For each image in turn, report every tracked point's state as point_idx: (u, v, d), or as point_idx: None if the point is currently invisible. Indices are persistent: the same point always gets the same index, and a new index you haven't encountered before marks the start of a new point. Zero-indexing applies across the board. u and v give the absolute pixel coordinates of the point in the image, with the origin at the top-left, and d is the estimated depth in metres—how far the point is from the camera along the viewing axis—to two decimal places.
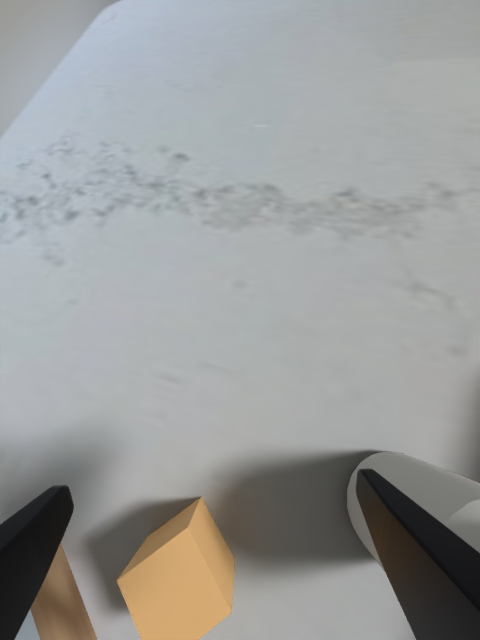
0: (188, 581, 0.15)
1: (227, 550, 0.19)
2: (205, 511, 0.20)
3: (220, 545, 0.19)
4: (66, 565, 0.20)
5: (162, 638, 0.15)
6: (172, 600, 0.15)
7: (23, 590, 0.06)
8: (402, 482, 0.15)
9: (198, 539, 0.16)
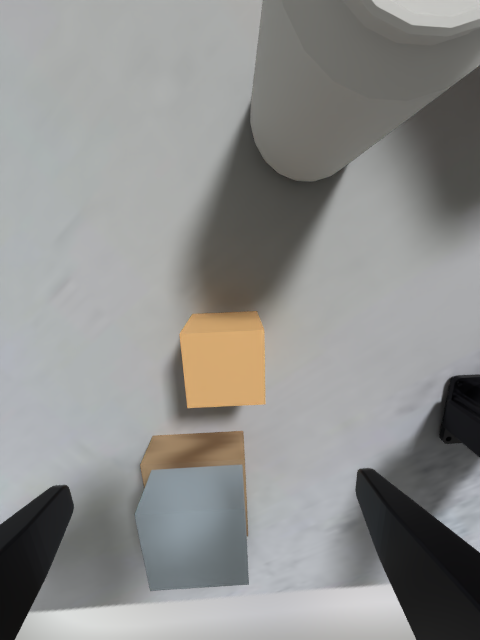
0: (221, 353, 0.15)
1: (244, 313, 0.19)
2: (202, 315, 0.19)
3: (233, 316, 0.19)
4: (182, 436, 0.22)
5: (246, 390, 0.16)
6: (227, 372, 0.16)
7: (23, 590, 0.06)
8: (258, 51, 0.11)
9: (199, 330, 0.16)
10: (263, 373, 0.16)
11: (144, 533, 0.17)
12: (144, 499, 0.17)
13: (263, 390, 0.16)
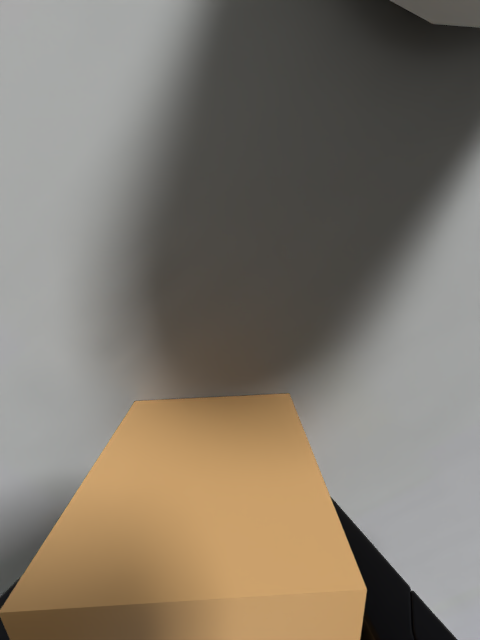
0: None
1: (260, 405, 0.08)
2: (154, 416, 0.07)
3: (232, 425, 0.07)
4: None
5: None
6: None
7: None
8: None
9: (101, 559, 0.04)
10: None
11: None
12: None
13: None
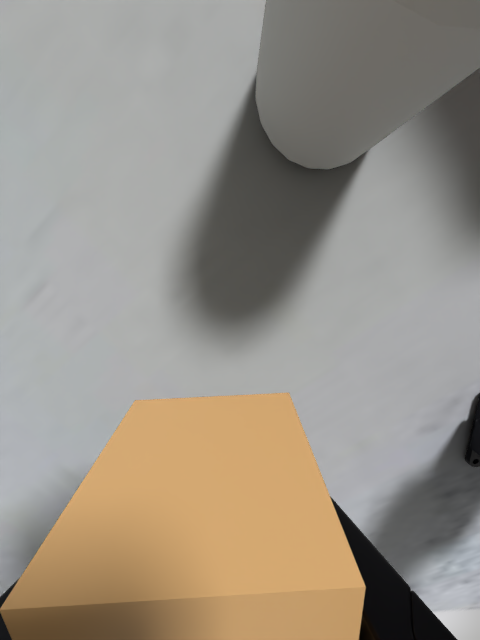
0: None
1: (260, 405, 0.08)
2: (154, 415, 0.07)
3: (232, 424, 0.07)
4: None
5: None
6: None
7: None
8: None
9: (101, 557, 0.04)
10: None
11: None
12: None
13: None
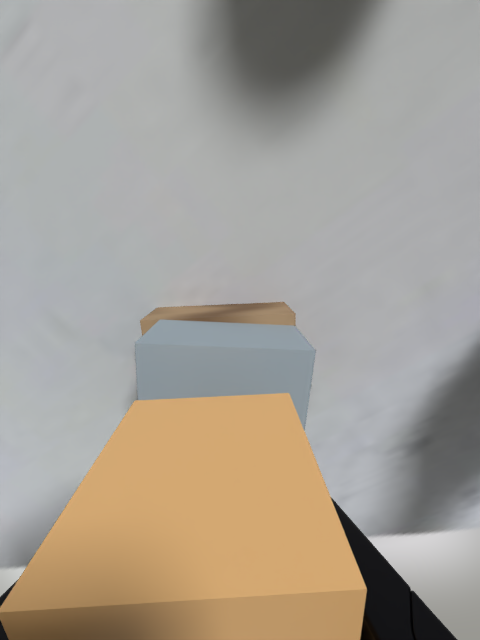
0: None
1: (260, 405, 0.08)
2: (154, 415, 0.07)
3: (232, 425, 0.07)
4: (199, 306, 0.16)
5: None
6: None
7: None
8: None
9: (99, 559, 0.04)
10: None
11: (147, 381, 0.10)
12: (150, 334, 0.11)
13: None
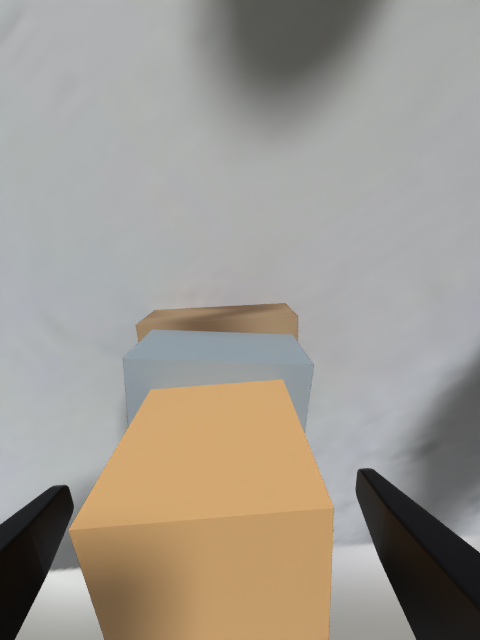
0: (204, 571, 0.05)
1: (258, 390, 0.09)
2: (168, 400, 0.09)
3: (234, 405, 0.08)
4: (198, 308, 0.15)
5: None
6: (223, 610, 0.06)
7: (23, 590, 0.06)
8: None
9: (137, 497, 0.05)
10: (325, 606, 0.06)
11: (136, 397, 0.10)
12: (140, 347, 0.10)
13: None
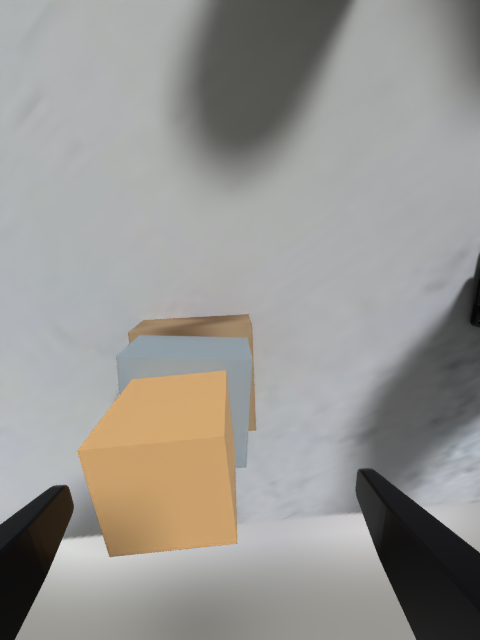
0: (155, 476, 0.09)
1: (206, 377, 0.13)
2: (143, 385, 0.13)
3: (187, 387, 0.12)
4: (178, 319, 0.19)
5: (204, 527, 0.10)
6: (168, 502, 0.09)
7: (23, 590, 0.06)
8: None
9: (116, 436, 0.09)
10: (229, 500, 0.10)
11: (126, 384, 0.14)
12: (129, 349, 0.14)
13: (232, 524, 0.10)
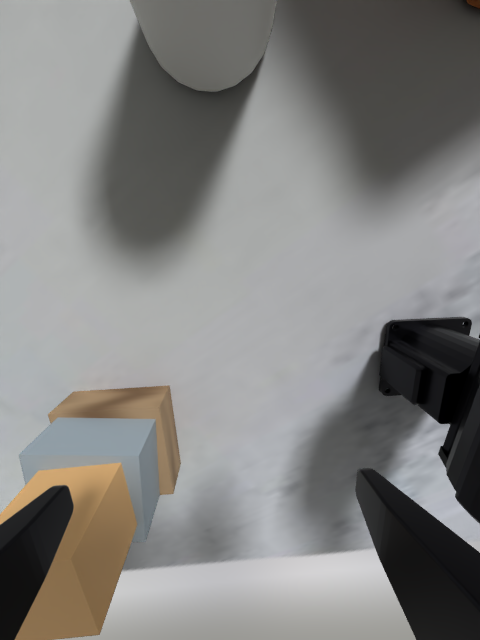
0: None
1: (99, 472, 0.15)
2: (43, 481, 0.15)
3: (76, 486, 0.14)
4: (105, 390, 0.21)
5: (68, 623, 0.12)
6: (34, 606, 0.11)
7: (23, 590, 0.06)
8: None
9: None
10: (86, 603, 0.11)
11: (30, 476, 0.16)
12: (36, 441, 0.16)
13: (92, 620, 0.12)
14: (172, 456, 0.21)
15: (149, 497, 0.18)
